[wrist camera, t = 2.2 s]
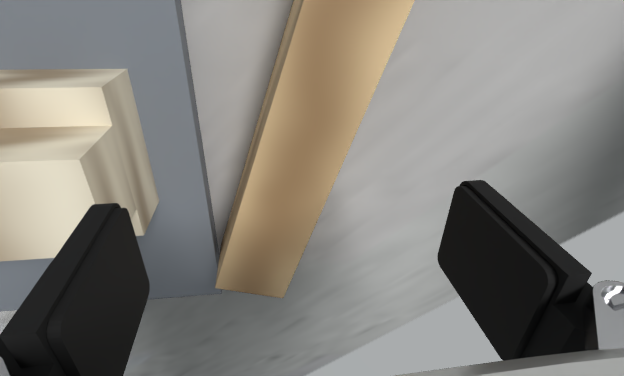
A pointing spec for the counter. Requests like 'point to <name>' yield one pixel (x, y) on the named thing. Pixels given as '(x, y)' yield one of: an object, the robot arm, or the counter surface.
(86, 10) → the slate board
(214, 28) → the counter surface
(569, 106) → the counter surface
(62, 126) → the stepped block
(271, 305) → the counter surface
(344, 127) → the oak bar
